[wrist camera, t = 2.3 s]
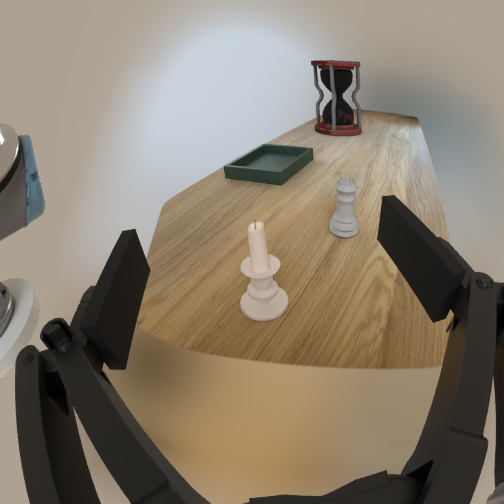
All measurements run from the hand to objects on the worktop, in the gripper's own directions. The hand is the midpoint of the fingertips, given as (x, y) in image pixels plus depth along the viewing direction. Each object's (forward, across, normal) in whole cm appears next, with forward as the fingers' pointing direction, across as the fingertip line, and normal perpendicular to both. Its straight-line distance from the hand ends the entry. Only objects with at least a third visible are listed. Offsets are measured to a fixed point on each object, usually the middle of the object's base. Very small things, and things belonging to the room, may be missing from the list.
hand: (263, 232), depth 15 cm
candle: (+10, 0, -15) cm, 18 cm away
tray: (+52, +7, -15) cm, 54 cm away
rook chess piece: (+22, +13, -15) cm, 30 cm away
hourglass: (+83, +34, -15) cm, 91 cm away
